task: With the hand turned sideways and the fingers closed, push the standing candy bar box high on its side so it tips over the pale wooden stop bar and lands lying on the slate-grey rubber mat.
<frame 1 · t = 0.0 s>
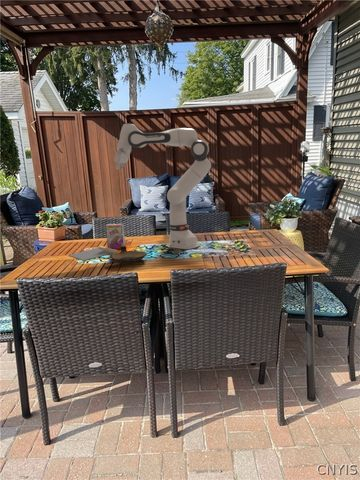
hand: (119, 169, 241), 52 cm above the table, tool tilted 20°, fingers open, 8 cm apart
oil lamp: (128, 261, 214), on the table
grey mat: (93, 253, 235), on the table
candy bar box: (116, 248, 247), on the table
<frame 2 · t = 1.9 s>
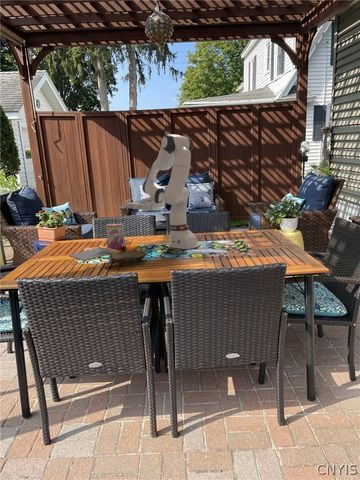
hand: (129, 207, 249), 26 cm above the table, tool horizontal, fingers open, 7 cm apart
nothing on the table moved.
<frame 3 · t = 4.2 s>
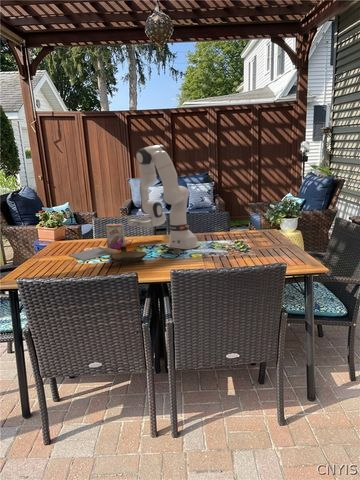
hand: (130, 224, 252), 14 cm above the table, tool horizontal, fingers closed
nothing on the table moved.
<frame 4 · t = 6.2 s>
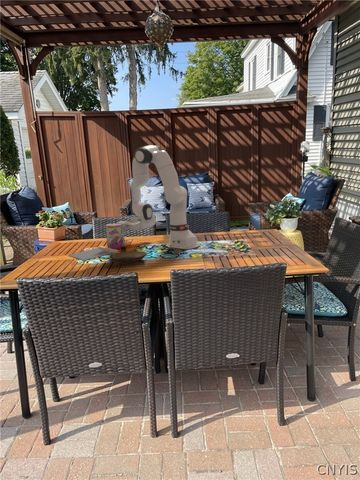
hand: (118, 227, 246), 14 cm above the table, tool horizontal, fingers closed
candy bar box: (116, 248, 247), on the table, touching gripper
everything else where it was.
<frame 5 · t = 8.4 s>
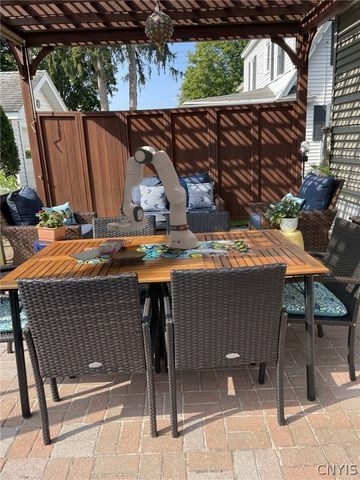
hand: (108, 229, 240), 14 cm above the table, tool horizontal, fingers closed
candy bar box: (116, 242, 244), point 4 cm above the table, touching grey mat
everything else where it was.
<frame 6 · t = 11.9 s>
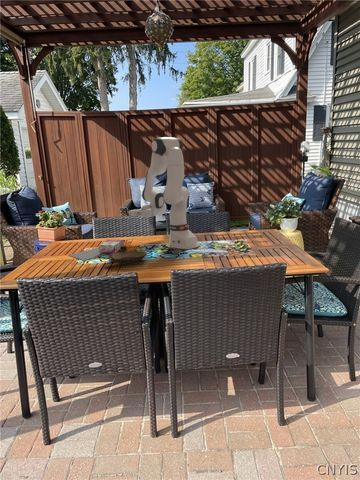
hand: (130, 214, 250), 21 cm above the table, tool horizontal, fingers closed
nothing on the table moved.
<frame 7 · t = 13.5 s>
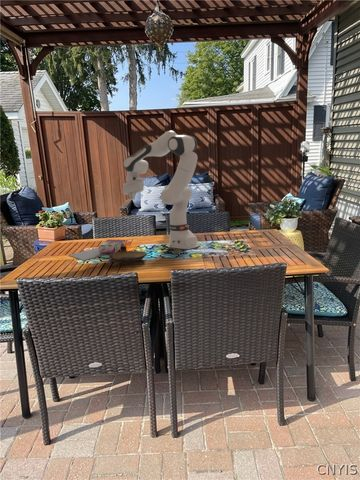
hand: (132, 199, 258), 30 cm above the table, tool tilted 15°, fingers closed
nothing on the table moved.
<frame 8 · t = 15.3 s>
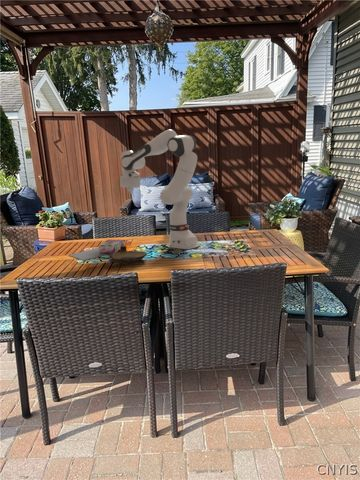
hand: (130, 193, 261), 34 cm above the table, tool pointing down, fingers closed
nothing on the table moved.
at the end: candy bar box tilted 89°; candy bar box touching grey mat; candy bar box inside the target area (3.5 cm from its centre), point 3.9 cm above the table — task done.
